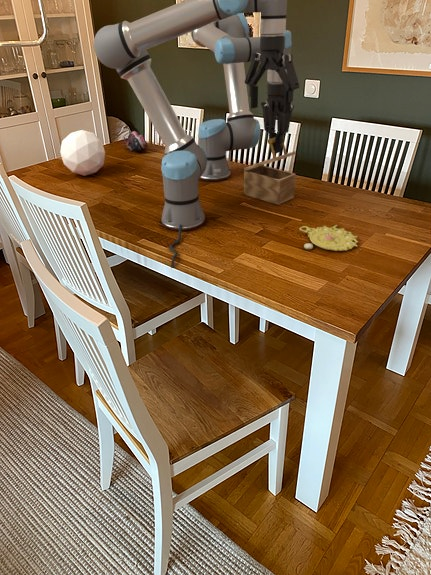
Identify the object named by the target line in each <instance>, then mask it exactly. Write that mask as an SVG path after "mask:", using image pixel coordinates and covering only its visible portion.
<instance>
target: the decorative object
mask: <svg viewBox="0 0 431 575" xmlns="http://www.w3.org/2000/svg"><path fill="white" fill-rule="evenodd" d="M303 228H304V229H305V230H304V229H303ZM299 231H300V232H303V233H305V234H307V237H308V238H309V240H310V241H311V243H304V244H303V248H304V249H305V250H313V249H314V245H315V246H316V247H318V248H321V249H324V250H328V251H335V252H341V251H348V250H352V249H354V247H356V248H358V247H359V245H358V244H357V243H359V240H357V238H359V237H358V235H353V234H352V231H347V230H346V229H345V228H344V227H342V228H338V224H335V225H333V226H331V227H328V226H327V225H326V224H325V225H323V226H322V227H321V226H317V227H316V228H314V227H309V226H308V225H302V226H300V227H299ZM313 244H314V245H313Z"/></svg>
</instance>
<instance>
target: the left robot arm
mask: <svg viewBox="0 0 431 575" xmlns="http://www.w3.org/2000/svg"><path fill="white" fill-rule="evenodd" d="M287 12H288V0H183V1H179V2H177V3H175V4H173V5H170V6H167V7H166V8H163V9H160V10H159V11H156V12H153V13H151V14H148V15H146V16H144V17H142V18H139V19H137V20H136V19H135V20H134V21H132V22H129V21H127V20H123V21H121V22H118V23H115V24H108V25H105V26H103V27H101V28H100V29H98V31H97V32H96V34H95V35H94V39H93V50H94V54H95V55H96V57H97V59H98V61H99V62H100V63H101V64H103V65H104V66H105V67H106V68H110V69H115V70H116V73H118V75H119V78H120V79H124V80H126V81H127V82H128V84H129V85H130V87H131V88H132V90H133V92H134V94H135V96H136V97H137V99H138V101H139V103H140V104H141V107H142V108H143V110H144V112H145V114H146V115H147V117H148V119H149V121H150V122H151V124H152V126H153V128H154V129H155V131H156V133H157V134H158V137H159V138H160V141H161V142H162V143H163V145H164V151H163V154H164V156H163V157H162V159H161V167H160V168H161V173H162V174H161V176H162V184H163V194H164V204H163V209H162V213H161V219H160V220H161V225H162V227H163V228H165V229H167V230H170V231H175V232H176V231H177V232H178V233H177V239H176V240H175V241H173V242H172V243H171V244H169V249H170V250H171V251H172V252H173V253H174V254H173V256H172V258H171V261H170V262H171V263H170V268H171V269H174V268H175V261H176V259H177V257H178V251H177V250H176V249H175V248H173V247H174V246H176V245H177V244H179V243H180V241H181V238H182V232H185V231H186V232H187V231H192V230H195V229H198V228H201V227H202V226H203V225H204V224H205V223H206V216H205V212H204V210H203V208H202V204H201V202H200V196H199V181H200V177H201V175H202V174H203V173H204V171H205V169H206V165H207V156H206V153H205V151H204V150H203V148H202V147H200V146H199V144H197V142H196V140H195V138H194V137H193V136H192V135H190V134H188V133H186V131H185V129H184V127H183V125H182V123H181V122H180V119H179V118H178V116H177V114H176V111H175V110H174V109H173V107H172V105H171V103H170V101H169V99H168V97H167V95H166V93H165V92H164V90H163V88H162V86H161V84H160V83H159V81H158V79H157V76H156V75H155V73H154V71H153V69H152V68H151V64H152V58H151V56H150V54H149V52H148V50H149V49H151V48H154V47H156V46H159V45H161V44H163V43H167V42H169V41H172V40H174V39H177V38H179V37H181V36H184V35H186V34H189V33H191V32H192V31H194V30H197V29H199V28H202V27H204V26H207V25H209V24H212V23H214V22H217V21H219V20H223V19H225V18H228V17H230V16H233V15H236V14H238V13H242V14H251V13H252V14H253V13H255V14H257V13H258V14H259V13H260V27H259V29H260V30H259V34H260V36H262V37H261V38H260V50H261V54H260V52H258V53H253V56H252V62H250V65H249V68H248V70H247V74H246V75H245V78H246V79H245V84H246V85H248V88H249V93H248V94H249V98H250V109H256V108H259V106H258V105H259V86H258V83H259V81H260V80H261V78H262V76H264V74H265V73H266V71H267V70H275V71H276V72H277V73H278V75H279V76H280V78H281V80H282V82H283V84H284V86H285V88H286V91H284V107H283V113H284V114H286V113H289V112H290V109H291V105H292V103H293V101H294V91H295V90H298V89H300V82H299V80H298V77H297V72H296V69H295V66H294V63H293V59H294V58H293V54H292V53H291V54H288V55H284V54H283V51H284V49H285V36H283V34H285V31H286V28H287V27H286V26H287ZM260 59H261V61H260ZM282 62H284V63H285V67H284V65H283V63H282ZM285 68H286V70H285ZM286 71H287V72H286Z"/></svg>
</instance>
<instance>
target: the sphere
mask: <svg viewBox="0 0 431 575" xmlns="http://www.w3.org/2000/svg"><path fill="white" fill-rule="evenodd" d="M59 153H60V156H61V159H62V162H63V165H64V166H65V167H66V168H67V169H68V170H69V171H70V172H72V173H73V174H76V175H81V176H84V177H86V176H89V175H93V174H95V173H97V172H98V171H99V170H100V169H101V168H102V167H103V166H104V163H105V157H106V151H105V147H104V144H103V141H102V140H101V139H100V138H99V137H98V136H97V135H96V134H95V133H94V132H91V131H88V130H85V129H80V130H76V131H73V132H70V133H69V134H68V135H67V136H66V137H65V138H64V139H63V140H62V141H61V145H60V152H59Z"/></svg>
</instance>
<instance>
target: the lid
mask: <svg viewBox="0 0 431 575" xmlns="http://www.w3.org/2000/svg"><path fill="white" fill-rule="evenodd" d="M284 137H285V136H283V140H284V139H285V138H284ZM284 142H285V141H283V143H282V144H281V149H282V151H283V154H282V155H279V156H276V153H275V151H274V148H273V145H272V143H275V137H274V138H271V139H269V138H268V139H267V145H269V148H270V147H271V151H272V152H271V154H272V158H269V159H266V160H262V161H260V162H257V163H253V164H251V165H249V166H246V167H243V170H244V171H246V170H249V169H252V168H255V167H259V166H266V165H268V164H272V163H274V162H278V161H281V160H283V159H287V158H289V157H292V156H295V155H296V154H297V152H296V151H295V150H294V151H292V152H288V153H287V149H286V146H285V143H284ZM244 171H243V172H244Z"/></svg>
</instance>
